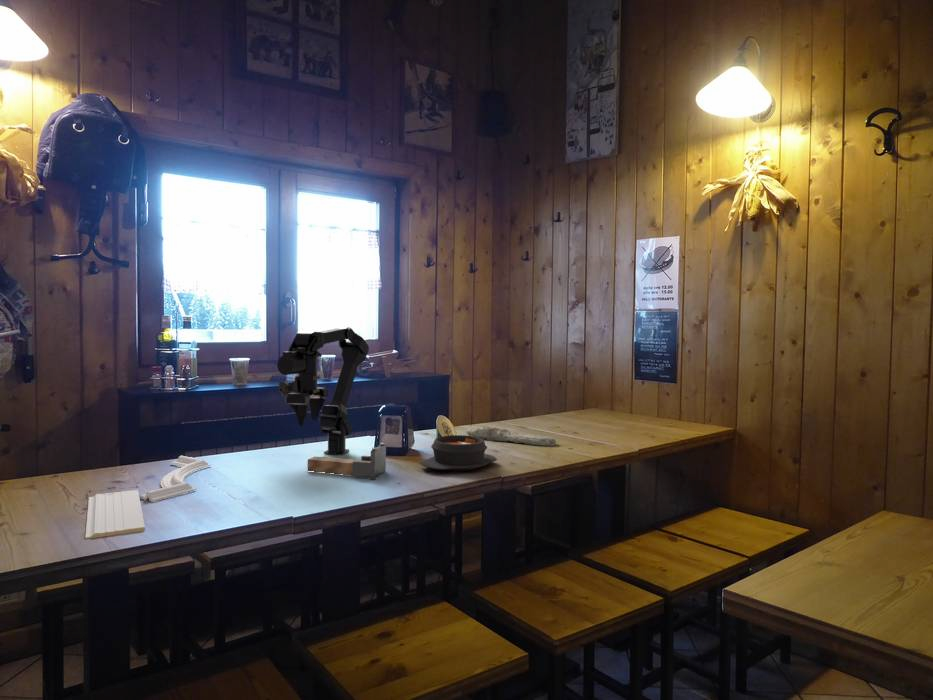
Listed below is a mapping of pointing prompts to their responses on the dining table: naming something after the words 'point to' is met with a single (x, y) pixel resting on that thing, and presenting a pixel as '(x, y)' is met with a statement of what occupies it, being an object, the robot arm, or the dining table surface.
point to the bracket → (371, 464)
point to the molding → (176, 479)
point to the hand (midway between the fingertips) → (307, 423)
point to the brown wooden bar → (331, 465)
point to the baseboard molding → (114, 514)
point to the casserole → (458, 453)
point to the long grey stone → (510, 436)
